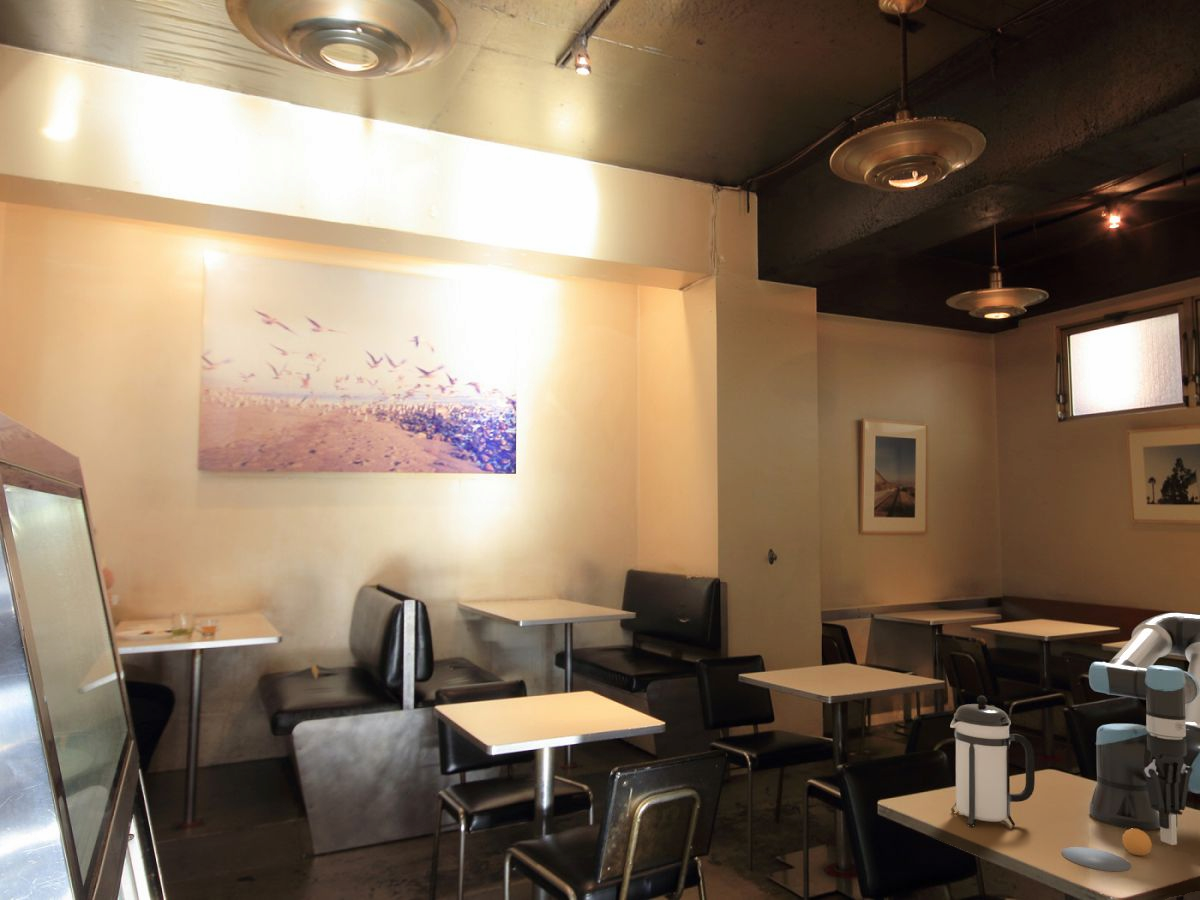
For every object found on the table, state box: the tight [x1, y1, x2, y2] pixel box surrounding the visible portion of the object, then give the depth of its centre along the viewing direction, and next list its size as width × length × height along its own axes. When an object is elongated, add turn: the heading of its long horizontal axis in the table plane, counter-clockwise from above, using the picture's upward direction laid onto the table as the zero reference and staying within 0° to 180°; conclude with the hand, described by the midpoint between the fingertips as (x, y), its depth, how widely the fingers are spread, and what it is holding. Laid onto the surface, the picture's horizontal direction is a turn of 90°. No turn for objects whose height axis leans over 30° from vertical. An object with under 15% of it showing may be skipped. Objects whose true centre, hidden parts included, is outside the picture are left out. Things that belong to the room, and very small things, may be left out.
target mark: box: [1061, 846, 1132, 872], centre depth 184 cm, size 13×13×1 cm
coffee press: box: [950, 695, 1036, 830], centre depth 208 cm, size 17×16×30 cm
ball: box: [1122, 828, 1153, 857], centre depth 188 cm, size 6×6×6 cm
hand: (1168, 842), depth 190 cm, fingers closed
